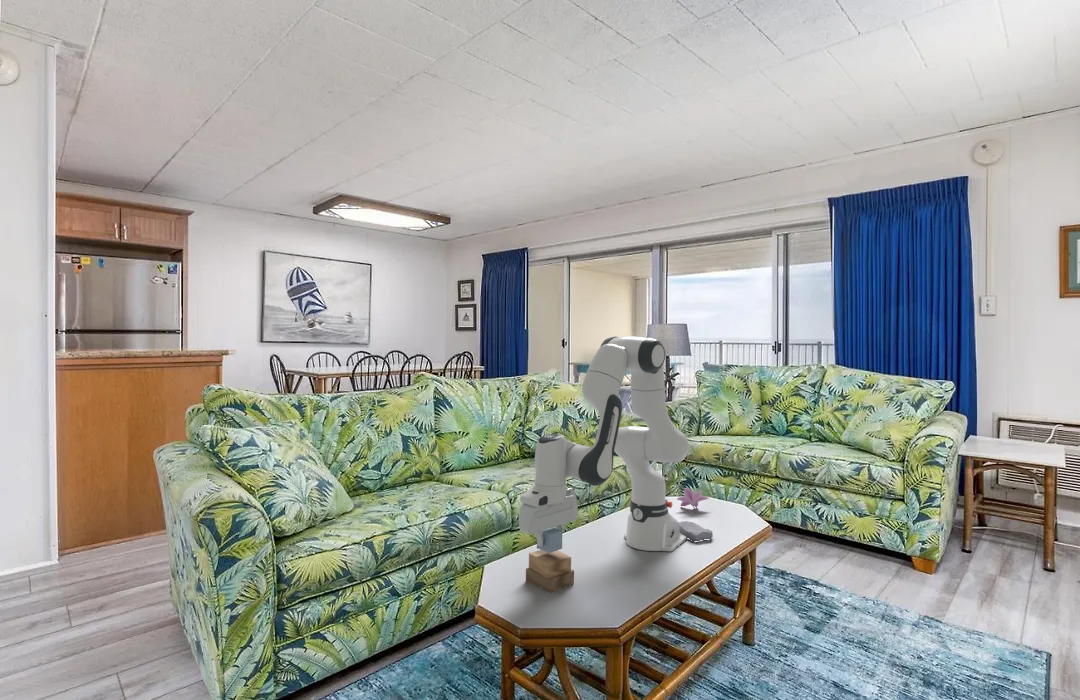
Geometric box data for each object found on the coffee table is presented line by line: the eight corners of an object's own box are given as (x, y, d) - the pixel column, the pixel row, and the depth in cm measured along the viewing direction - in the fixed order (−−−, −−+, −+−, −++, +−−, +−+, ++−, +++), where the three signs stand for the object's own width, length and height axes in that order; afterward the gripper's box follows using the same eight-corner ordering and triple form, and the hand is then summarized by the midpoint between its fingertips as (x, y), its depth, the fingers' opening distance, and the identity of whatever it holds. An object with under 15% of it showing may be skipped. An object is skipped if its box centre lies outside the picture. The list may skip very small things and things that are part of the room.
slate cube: (549, 543, 160) (549, 526, 160) (562, 548, 157) (562, 530, 156) (536, 548, 157) (537, 530, 157) (549, 553, 153) (549, 534, 153)
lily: (713, 513, 226) (707, 490, 231) (706, 509, 217) (701, 484, 222) (684, 519, 231) (679, 495, 236) (676, 514, 222) (671, 490, 226)
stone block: (693, 534, 204) (671, 532, 200) (696, 521, 204) (674, 519, 200) (715, 546, 193) (692, 544, 189) (718, 533, 193) (695, 530, 189)
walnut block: (548, 573, 163) (548, 560, 163) (573, 584, 156) (574, 570, 156) (525, 582, 157) (525, 568, 157) (551, 594, 150) (551, 579, 150)
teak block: (551, 561, 163) (551, 547, 163) (570, 571, 155) (571, 557, 155) (528, 567, 158) (528, 552, 158) (547, 578, 151) (547, 563, 151)
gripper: (567, 484, 166) (566, 531, 166) (515, 497, 152) (514, 548, 152) (583, 488, 161) (582, 536, 162) (531, 502, 147) (530, 554, 147)
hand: (549, 542), depth 157 cm, fingers closed on slate cube, 5 cm apart
